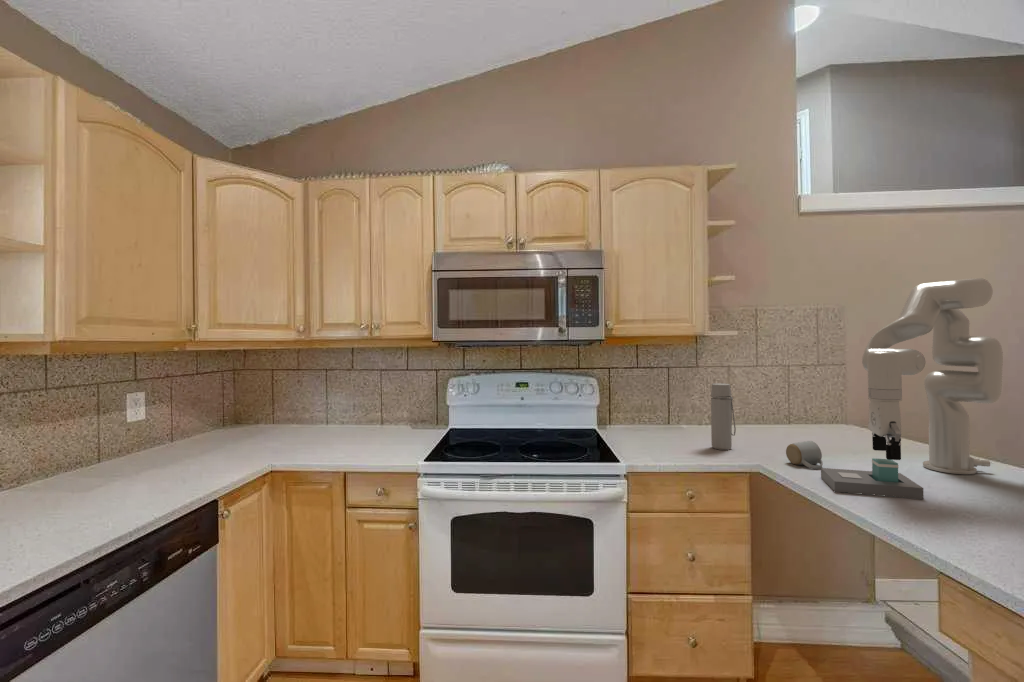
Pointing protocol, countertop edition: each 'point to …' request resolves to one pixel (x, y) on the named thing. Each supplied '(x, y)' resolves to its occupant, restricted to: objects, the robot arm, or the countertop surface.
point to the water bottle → (721, 416)
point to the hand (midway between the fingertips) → (886, 454)
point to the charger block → (884, 470)
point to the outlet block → (870, 483)
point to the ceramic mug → (805, 454)
